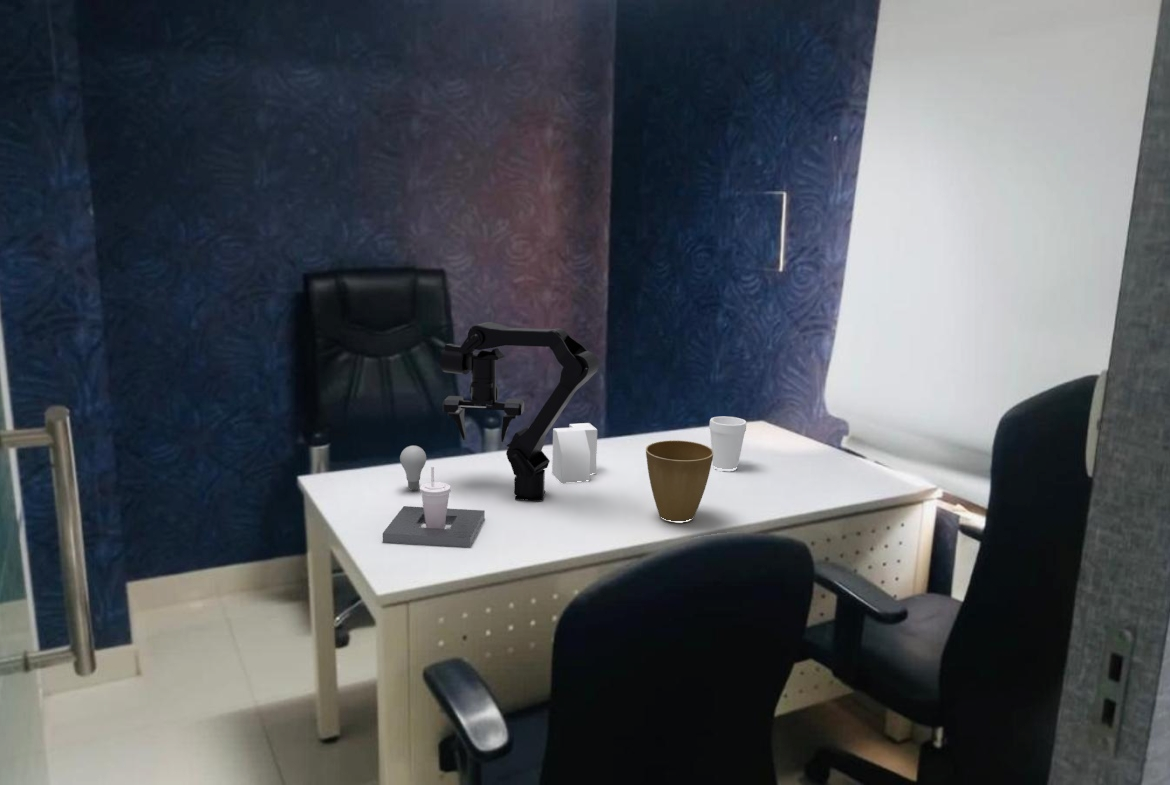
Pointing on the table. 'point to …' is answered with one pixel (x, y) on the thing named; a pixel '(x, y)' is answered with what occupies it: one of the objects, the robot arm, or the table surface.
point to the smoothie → (435, 502)
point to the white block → (574, 452)
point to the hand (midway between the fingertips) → (483, 440)
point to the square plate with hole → (458, 535)
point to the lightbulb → (413, 465)
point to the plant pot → (678, 476)
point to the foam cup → (726, 440)
